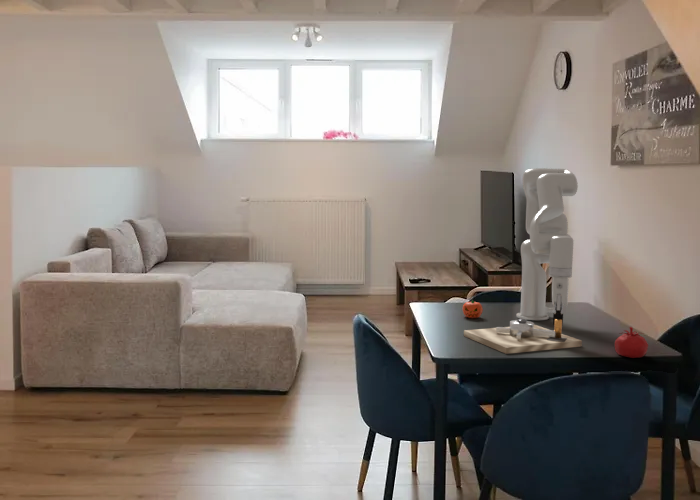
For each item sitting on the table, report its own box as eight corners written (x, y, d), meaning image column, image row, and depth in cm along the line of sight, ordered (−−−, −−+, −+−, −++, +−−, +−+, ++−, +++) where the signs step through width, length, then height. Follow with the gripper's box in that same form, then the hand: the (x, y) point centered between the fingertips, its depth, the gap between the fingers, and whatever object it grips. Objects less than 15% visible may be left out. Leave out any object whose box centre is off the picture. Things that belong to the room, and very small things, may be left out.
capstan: (492, 336, 239) (493, 319, 239) (499, 326, 255) (500, 310, 255) (559, 343, 232) (560, 324, 231) (562, 332, 248) (563, 315, 247)
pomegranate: (630, 361, 221) (632, 332, 219) (607, 353, 230) (608, 325, 228) (654, 358, 225) (656, 329, 223) (630, 350, 234) (632, 322, 232)
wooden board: (534, 330, 262) (534, 324, 262) (581, 346, 238) (581, 340, 238) (463, 335, 251) (463, 329, 251) (505, 353, 227) (506, 347, 227)
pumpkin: (463, 315, 288) (464, 297, 288) (483, 316, 286) (484, 298, 285) (460, 318, 281) (461, 300, 280) (480, 320, 279) (481, 301, 278)
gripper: (571, 276, 233) (569, 330, 235) (571, 269, 247) (569, 321, 249) (548, 274, 235) (545, 329, 237) (549, 268, 249) (547, 320, 251)
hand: (557, 325), depth 243 cm, fingers closed
